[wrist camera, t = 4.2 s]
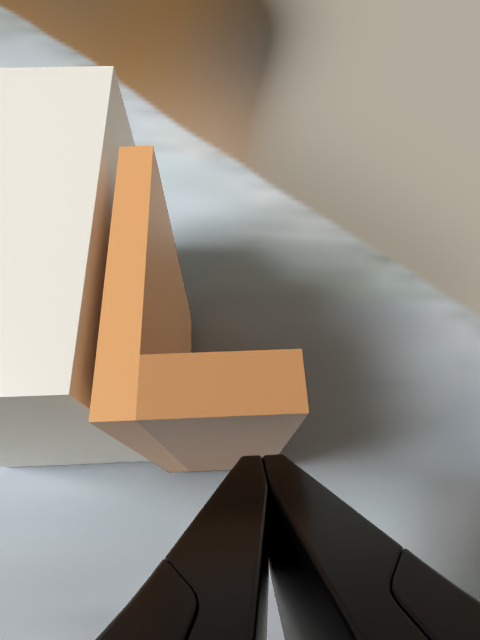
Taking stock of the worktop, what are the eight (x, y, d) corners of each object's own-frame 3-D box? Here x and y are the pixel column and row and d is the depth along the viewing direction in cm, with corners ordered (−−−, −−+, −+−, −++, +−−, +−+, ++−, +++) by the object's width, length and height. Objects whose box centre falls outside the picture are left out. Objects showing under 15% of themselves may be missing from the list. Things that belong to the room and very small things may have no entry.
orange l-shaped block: (268, 468, 16) (309, 412, 7) (168, 472, 16) (88, 422, 7) (258, 315, 19) (278, 143, 10) (173, 318, 18) (119, 147, 10)
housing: (163, 460, 16) (74, 394, 7) (7, 467, 16) (-283, 408, 7) (171, 242, 21) (121, 32, 12) (48, 245, 21) (-98, 35, 12)
